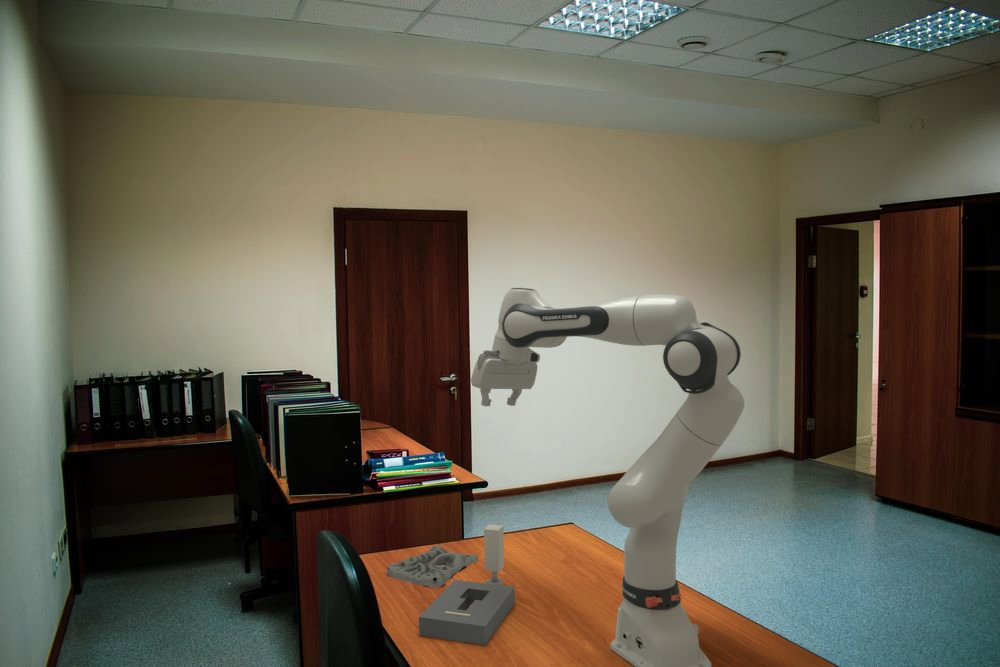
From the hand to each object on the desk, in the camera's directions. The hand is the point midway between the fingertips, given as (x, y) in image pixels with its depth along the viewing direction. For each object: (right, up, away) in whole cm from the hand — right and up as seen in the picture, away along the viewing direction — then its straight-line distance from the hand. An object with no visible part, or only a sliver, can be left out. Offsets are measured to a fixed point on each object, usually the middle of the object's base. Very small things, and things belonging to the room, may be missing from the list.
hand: (498, 405), depth 177 cm
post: (-1, -49, +10) cm, 50 cm away
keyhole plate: (-7, -50, -8) cm, 51 cm away
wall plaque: (-18, -49, +24) cm, 58 cm away
